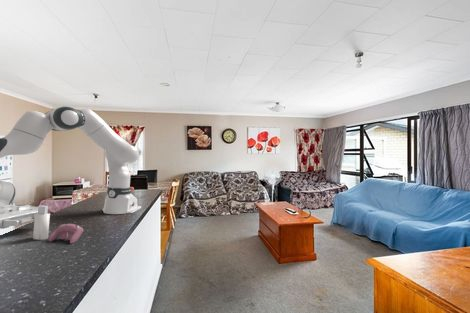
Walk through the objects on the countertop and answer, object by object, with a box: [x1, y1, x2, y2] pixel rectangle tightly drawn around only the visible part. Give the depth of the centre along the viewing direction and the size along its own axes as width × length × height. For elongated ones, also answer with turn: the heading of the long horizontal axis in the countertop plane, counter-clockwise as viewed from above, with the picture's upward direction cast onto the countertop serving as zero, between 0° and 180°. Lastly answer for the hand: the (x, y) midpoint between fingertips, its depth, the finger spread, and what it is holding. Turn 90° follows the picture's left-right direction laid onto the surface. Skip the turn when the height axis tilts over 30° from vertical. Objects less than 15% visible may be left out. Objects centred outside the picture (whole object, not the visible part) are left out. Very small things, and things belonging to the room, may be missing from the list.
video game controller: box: [48, 223, 84, 245], centre depth 83 cm, size 10×5×7 cm, turn 84°
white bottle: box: [32, 205, 51, 241], centre depth 84 cm, size 3×5×12 cm, turn 82°
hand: (33, 219), depth 85 cm, fingers open, 8 cm apart
